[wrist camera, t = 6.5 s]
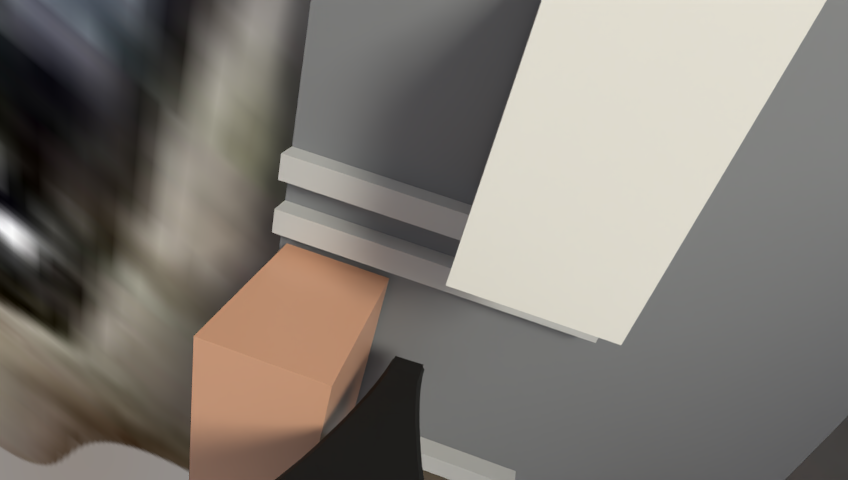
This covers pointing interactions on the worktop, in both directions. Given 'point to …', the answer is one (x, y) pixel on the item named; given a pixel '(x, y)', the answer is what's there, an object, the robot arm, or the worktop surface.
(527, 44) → the ivory rectangular block
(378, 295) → the salmon orange block
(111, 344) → the worktop surface
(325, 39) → the switch panel
